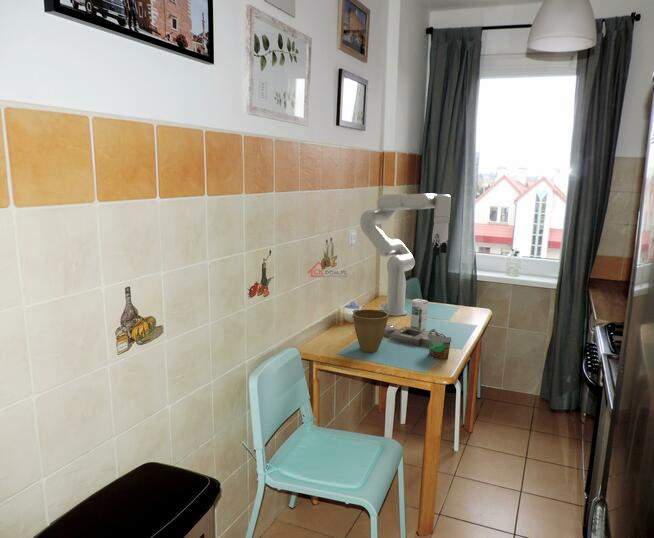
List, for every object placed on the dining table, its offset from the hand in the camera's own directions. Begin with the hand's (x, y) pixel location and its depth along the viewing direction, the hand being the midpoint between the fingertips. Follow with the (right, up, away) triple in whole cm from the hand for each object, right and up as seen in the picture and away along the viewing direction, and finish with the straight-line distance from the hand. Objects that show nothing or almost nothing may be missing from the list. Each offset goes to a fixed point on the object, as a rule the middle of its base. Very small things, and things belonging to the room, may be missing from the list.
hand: (439, 254), depth 258 cm
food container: (-11, -44, -41) cm, 61 cm away
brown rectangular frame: (-15, -40, -22) cm, 48 cm away
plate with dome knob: (-21, -39, -18) cm, 48 cm away
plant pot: (-38, -42, -35) cm, 67 cm away
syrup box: (-12, -37, -5) cm, 39 cm away
